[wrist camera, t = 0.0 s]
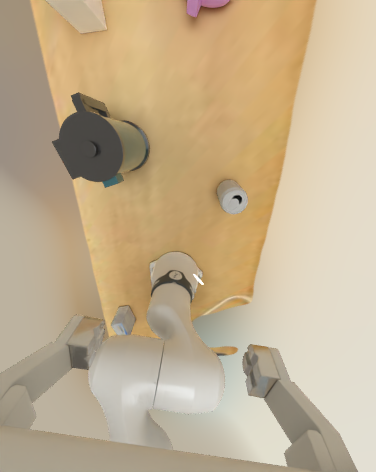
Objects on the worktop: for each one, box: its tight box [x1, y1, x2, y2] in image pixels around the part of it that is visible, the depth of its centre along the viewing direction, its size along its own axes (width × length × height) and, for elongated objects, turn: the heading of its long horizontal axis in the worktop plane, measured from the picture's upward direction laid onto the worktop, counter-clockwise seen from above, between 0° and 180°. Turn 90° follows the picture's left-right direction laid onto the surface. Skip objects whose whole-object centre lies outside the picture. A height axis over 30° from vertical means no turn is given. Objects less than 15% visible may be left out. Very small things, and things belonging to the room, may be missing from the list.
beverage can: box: [217, 180, 248, 214], centre depth 49 cm, size 6×6×12 cm
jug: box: [52, 92, 150, 188], centre depth 41 cm, size 13×16×20 cm
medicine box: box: [111, 306, 136, 335], centre depth 74 cm, size 8×4×9 cm, turn 15°
